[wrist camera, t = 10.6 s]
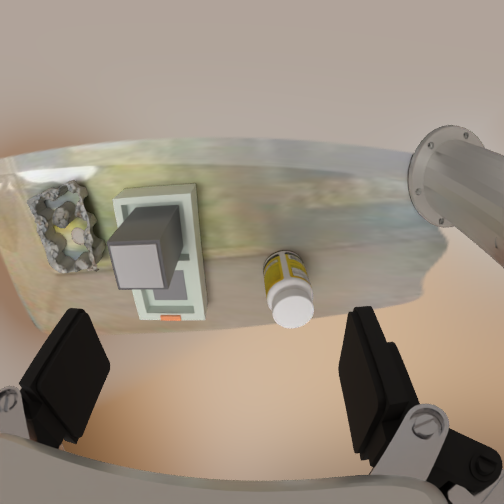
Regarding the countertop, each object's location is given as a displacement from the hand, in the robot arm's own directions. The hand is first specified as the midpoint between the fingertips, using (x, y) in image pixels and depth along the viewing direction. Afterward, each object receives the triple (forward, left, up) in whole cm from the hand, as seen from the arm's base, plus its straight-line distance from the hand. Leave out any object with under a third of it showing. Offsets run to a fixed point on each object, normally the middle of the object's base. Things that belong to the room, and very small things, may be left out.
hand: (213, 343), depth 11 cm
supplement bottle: (-11, +5, -24) cm, 27 cm away
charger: (+3, +9, -22) cm, 24 cm away
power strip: (+1, +11, -24) cm, 26 cm away
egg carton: (+12, +16, -24) cm, 32 cm away
